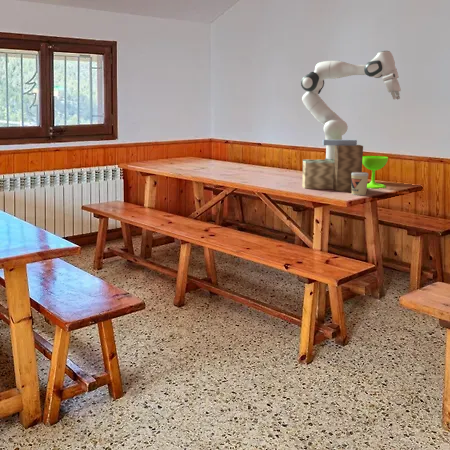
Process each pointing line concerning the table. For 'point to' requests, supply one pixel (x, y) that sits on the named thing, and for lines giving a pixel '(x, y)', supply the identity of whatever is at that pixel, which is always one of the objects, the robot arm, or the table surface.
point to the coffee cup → (359, 183)
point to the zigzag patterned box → (318, 174)
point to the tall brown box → (346, 165)
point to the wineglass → (374, 168)
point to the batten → (340, 142)
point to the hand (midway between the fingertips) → (396, 99)
